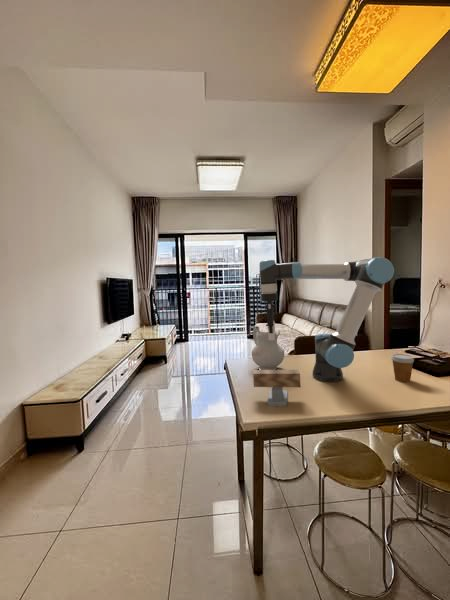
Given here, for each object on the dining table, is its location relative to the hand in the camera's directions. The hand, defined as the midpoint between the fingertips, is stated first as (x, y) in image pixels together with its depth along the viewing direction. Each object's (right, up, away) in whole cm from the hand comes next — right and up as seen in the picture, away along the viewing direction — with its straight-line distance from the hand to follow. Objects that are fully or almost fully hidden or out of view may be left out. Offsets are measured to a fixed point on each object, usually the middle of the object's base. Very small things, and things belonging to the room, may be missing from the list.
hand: (272, 336), depth 129 cm
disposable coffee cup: (+66, -22, +4) cm, 70 cm away
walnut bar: (0, -20, -10) cm, 22 cm away
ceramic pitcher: (+2, -23, +31) cm, 39 cm away
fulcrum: (+1, -26, -10) cm, 28 cm away
